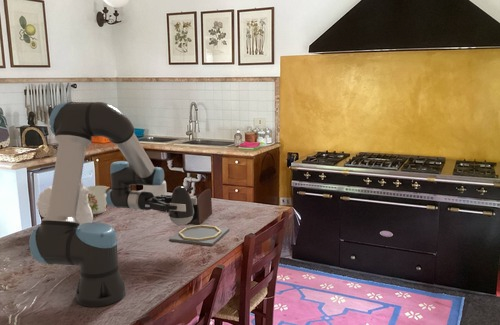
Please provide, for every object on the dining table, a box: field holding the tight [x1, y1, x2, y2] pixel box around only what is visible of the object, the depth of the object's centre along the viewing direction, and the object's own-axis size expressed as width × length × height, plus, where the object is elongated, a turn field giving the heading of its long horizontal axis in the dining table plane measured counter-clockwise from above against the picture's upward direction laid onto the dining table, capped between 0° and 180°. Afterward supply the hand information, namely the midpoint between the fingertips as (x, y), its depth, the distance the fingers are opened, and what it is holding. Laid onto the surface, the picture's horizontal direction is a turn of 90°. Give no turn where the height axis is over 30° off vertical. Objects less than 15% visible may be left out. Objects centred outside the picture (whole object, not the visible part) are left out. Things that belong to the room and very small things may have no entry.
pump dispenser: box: [167, 185, 194, 226], centre depth 181 cm, size 10×10×15 cm
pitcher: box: [85, 185, 110, 215], centre depth 235 cm, size 11×18×14 cm, turn 80°
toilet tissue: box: [142, 180, 168, 197], centre depth 260 cm, size 11×12×10 cm
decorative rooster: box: [36, 180, 94, 225], centre depth 206 cm, size 25×16×25 cm, turn 71°
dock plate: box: [168, 224, 230, 247], centre depth 200 cm, size 20×20×2 cm
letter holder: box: [186, 188, 213, 225], centre depth 224 cm, size 10×20×14 cm, turn 167°
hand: (191, 204), depth 179 cm, fingers closed on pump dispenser, 9 cm apart
